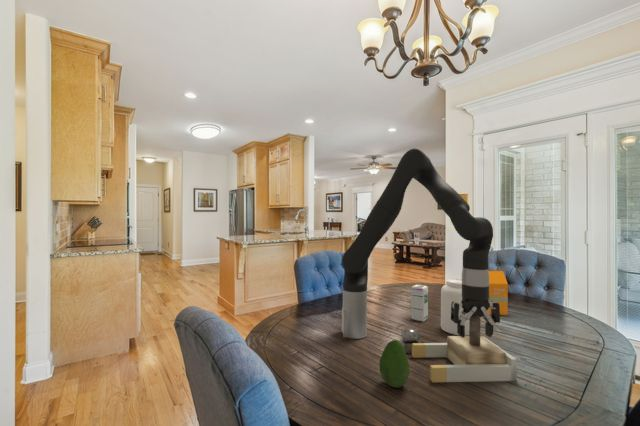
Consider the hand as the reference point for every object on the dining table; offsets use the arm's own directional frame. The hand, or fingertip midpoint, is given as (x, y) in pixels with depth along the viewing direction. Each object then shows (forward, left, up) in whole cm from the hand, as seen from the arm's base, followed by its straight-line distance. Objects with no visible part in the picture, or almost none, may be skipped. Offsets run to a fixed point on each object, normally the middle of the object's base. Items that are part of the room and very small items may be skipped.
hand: (475, 336), depth 93 cm
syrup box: (-1, +43, -9) cm, 44 cm away
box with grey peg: (0, 0, -9) cm, 9 cm away
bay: (-5, 0, -9) cm, 10 cm away
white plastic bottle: (+9, +29, -9) cm, 32 cm away
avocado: (-28, -9, -9) cm, 31 cm away
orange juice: (+38, +51, -9) cm, 64 cm away
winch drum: (-16, +12, -9) cm, 22 cm away
